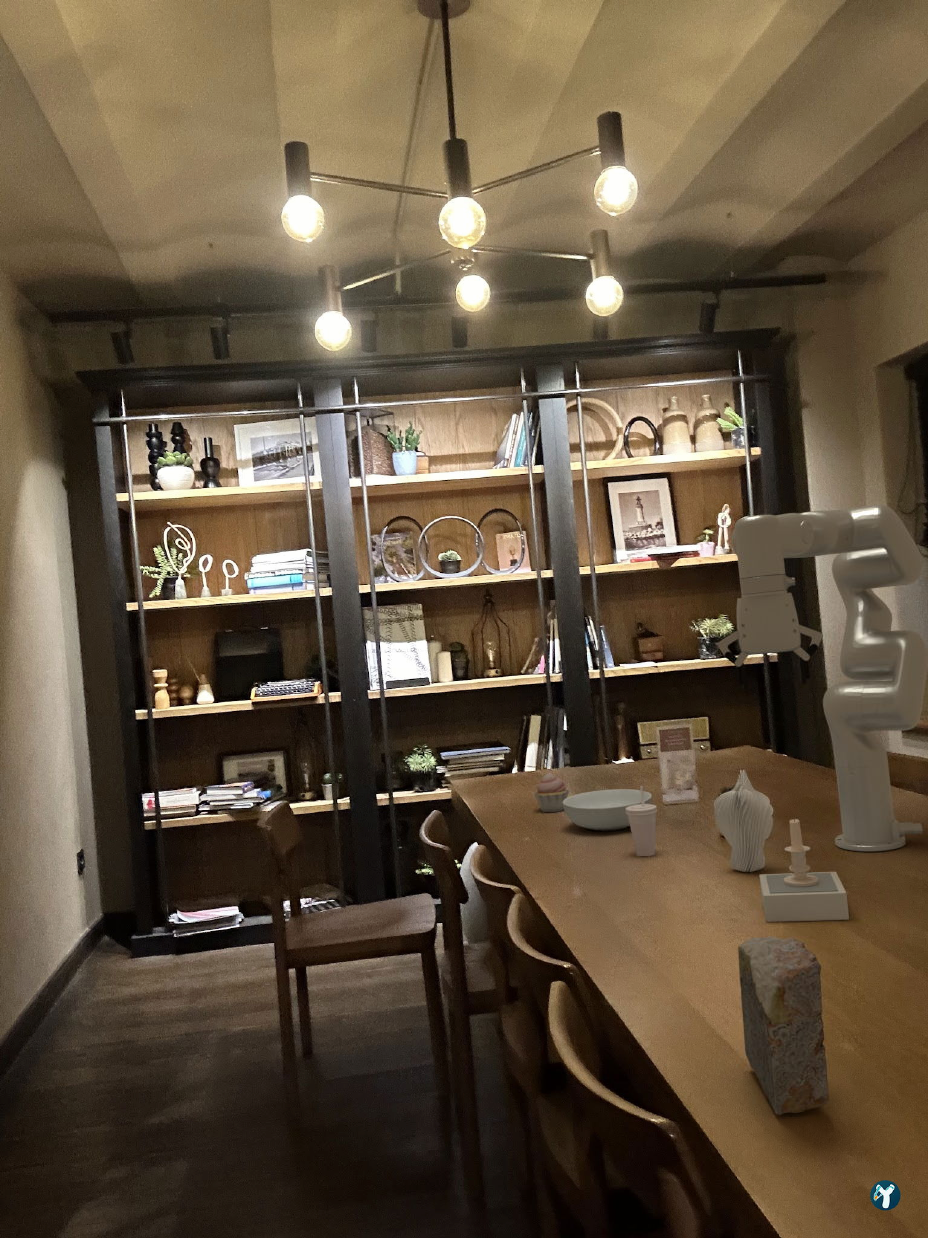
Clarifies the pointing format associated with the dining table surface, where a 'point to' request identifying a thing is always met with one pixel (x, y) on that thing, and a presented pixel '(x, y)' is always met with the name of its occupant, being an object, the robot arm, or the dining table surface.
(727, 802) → the shell sculpture
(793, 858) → the candle
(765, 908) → the plinth
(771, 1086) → the geological specimen
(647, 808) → the smoothie
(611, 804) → the serving bowl
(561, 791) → the cupcake
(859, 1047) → the dining table surface
